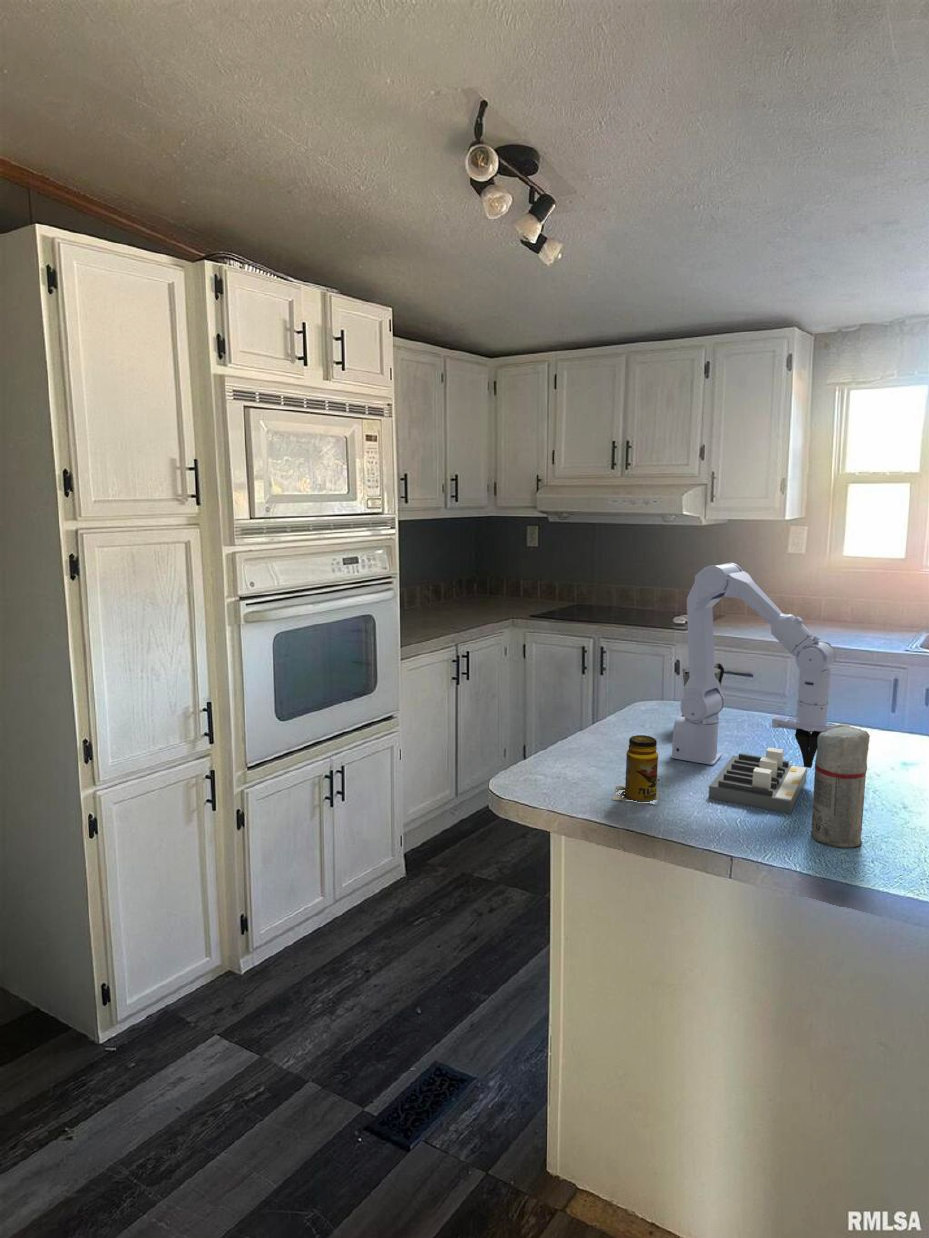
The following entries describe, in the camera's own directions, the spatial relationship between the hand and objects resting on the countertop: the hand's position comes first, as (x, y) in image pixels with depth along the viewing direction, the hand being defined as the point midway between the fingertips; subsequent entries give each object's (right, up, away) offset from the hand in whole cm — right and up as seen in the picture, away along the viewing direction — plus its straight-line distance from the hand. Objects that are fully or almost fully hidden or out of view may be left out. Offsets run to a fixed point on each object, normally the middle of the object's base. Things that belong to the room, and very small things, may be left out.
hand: (807, 766), depth 160 cm
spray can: (-6, -8, -25) cm, 27 cm away
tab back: (-6, -1, +4) cm, 7 cm away
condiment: (-36, -5, -5) cm, 37 cm away
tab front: (-13, -3, -8) cm, 15 cm away
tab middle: (-9, -2, -2) cm, 10 cm away
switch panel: (-10, -4, -1) cm, 11 cm away
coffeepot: (-9, +2, +41) cm, 42 cm away
